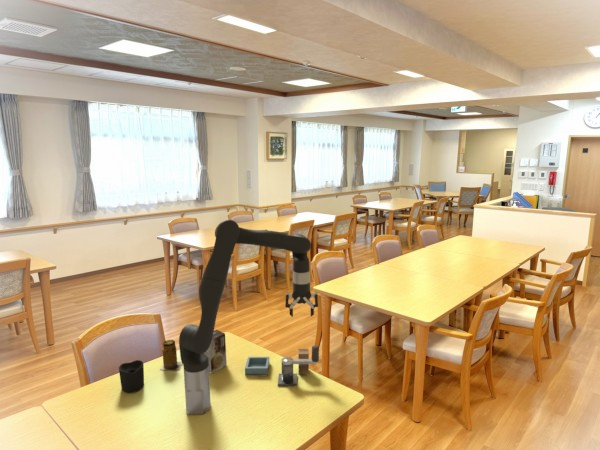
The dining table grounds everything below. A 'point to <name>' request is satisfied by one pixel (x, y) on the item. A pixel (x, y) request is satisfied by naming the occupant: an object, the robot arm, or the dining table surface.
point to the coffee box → (217, 352)
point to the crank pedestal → (287, 377)
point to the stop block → (303, 355)
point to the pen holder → (132, 376)
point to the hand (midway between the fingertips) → (301, 315)
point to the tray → (257, 366)
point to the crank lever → (290, 361)
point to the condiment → (170, 356)
